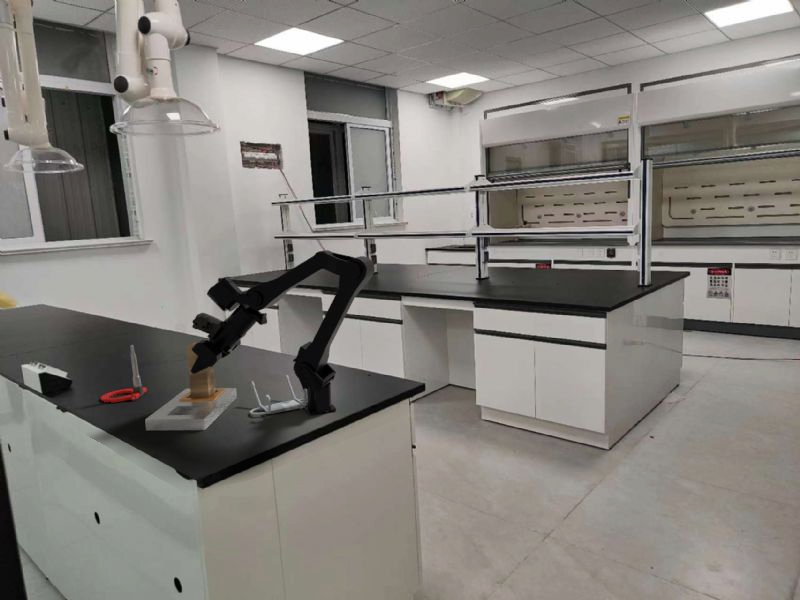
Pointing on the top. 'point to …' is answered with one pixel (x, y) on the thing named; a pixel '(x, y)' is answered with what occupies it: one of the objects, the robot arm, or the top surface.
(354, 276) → the robot arm
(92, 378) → the top surface
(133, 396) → the tow hook
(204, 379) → the peg
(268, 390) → the top surface
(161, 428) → the grey peg hole board
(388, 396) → the top surface
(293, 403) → the wall mount rack
